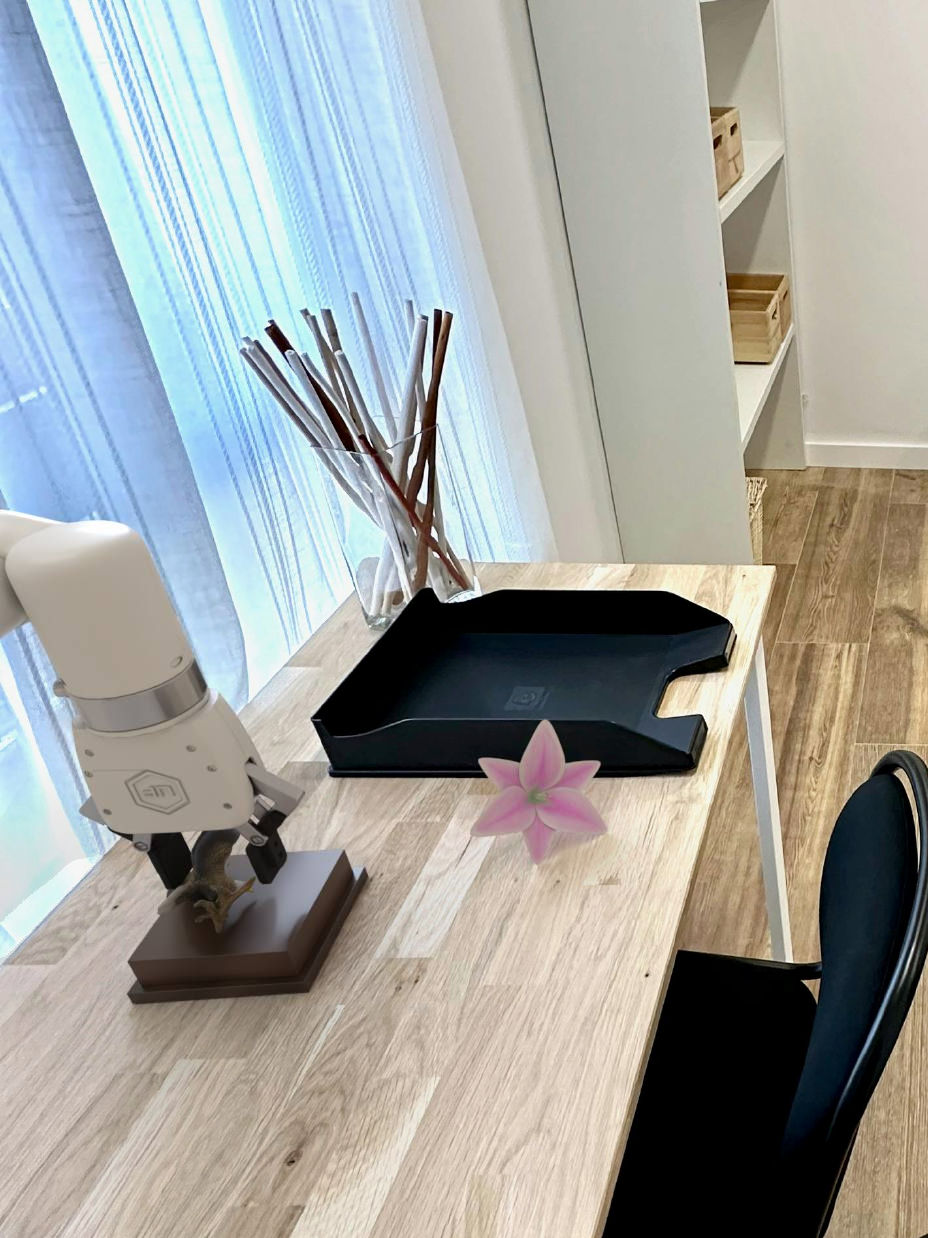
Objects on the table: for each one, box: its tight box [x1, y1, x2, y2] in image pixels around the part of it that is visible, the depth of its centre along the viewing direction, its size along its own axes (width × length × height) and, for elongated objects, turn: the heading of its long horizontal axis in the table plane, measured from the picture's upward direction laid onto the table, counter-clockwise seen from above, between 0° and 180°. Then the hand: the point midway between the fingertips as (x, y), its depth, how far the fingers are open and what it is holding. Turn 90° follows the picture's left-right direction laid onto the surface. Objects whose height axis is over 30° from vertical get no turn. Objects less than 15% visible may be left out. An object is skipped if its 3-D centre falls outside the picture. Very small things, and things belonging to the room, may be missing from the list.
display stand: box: [126, 848, 369, 1005], centre depth 90 cm, size 13×13×4 cm
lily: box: [469, 718, 608, 866], centre depth 101 cm, size 12×12×10 cm
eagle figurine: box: [156, 828, 256, 933], centre depth 86 cm, size 8×7×9 cm
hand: (227, 873), depth 87 cm, fingers closed on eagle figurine, 6 cm apart
